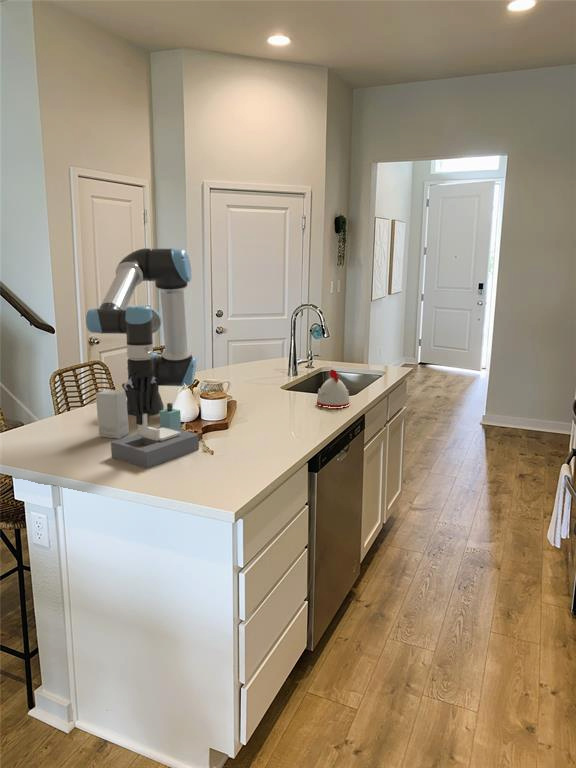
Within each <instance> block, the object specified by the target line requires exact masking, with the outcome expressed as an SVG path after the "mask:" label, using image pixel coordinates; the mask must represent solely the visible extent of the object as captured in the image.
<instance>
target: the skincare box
mask: <svg viewBox="0 0 576 768" xmlns="http://www.w3.org/2000/svg"><path fill="white" fill-rule="evenodd" d="M95 401H96V411H97V412H96V413H97V421H98V422H97V423H98V434H99V435H98V436H99V437H100V438H108V439H110V438H111V439H117V440H119V439H122V438H125V436H126V437H127V435H129V434H130V430H129V429H130V428H129V414H128V413H127V397H126V393H125V390H114V389H105V390H102V391H100V392H97V393H95Z"/></svg>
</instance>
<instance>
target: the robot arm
mask: <svg viewBox="0 0 576 768" xmlns="http://www.w3.org/2000/svg"><path fill="white" fill-rule="evenodd" d="M191 281H192V267H191V261H190V258H189V255H188V253H187V251H185V250H184V249H179V248H140V249H137V250H135V251H133V252H131V253H129V254H128V255H126V256H124V257H123V259H121V260H120V262H119V263H118V265H117V266H116V269H115V277H114V279H113V281H112V282H111V285H110V287H109V289H108V291H107V292H106V295H105V296H104V299H103V300H102V303H101V305H100V306H99V308H97V307H96V308H89V309H88V310H87V312H86V314H85V315H86V316H85V325H86V328H87V331H88V332H90V333H92V334H93V333H94V334H101V335H102V334H113V335H114V334H120V335H121V334H125V335H126V356H127V363H126V364H127V368H126V369H127V381H126V383H125V382H124V383H122V384H121V387H122V388H123V391H125V393H126V400H127V413H128V415H130V416H131V415H132V416H135V420H136V422H135V424H136V425H137V434H141V435H147V434H148V427H149V426H148V425H149V424H148V423H150V422H149V421H150V416H151V415H153V416H154V415H157V414H160V413H159V411H161V410H165V407H164V405H165V404H164V402H163V401H162V397H161V393H160V390H159V389H160V388H159V387H160V386H161V387H162V386H163V387H181V388H182V387H184V386H183V385H184V383H185V384H186V385H187V386H186V387H190V386H192V384H194V381H195V376H196V370H197V357H195V356H192V355H193V354H192V350H190V349H189V348H188V337H187V324H186V323H187V322H186V307H185V305H186V304H185V289H187V287H188V283H189V282H191ZM142 282H154V283H155V288H156V289H157V290H159V291H160V292H159V293H160V302H161V303H160V305H161V314H160V313H159V312H158V311H157V310H155V309H152V308H151V306H149V305H129V303H130V301H131V299H132V297H133V294H134V292H135V290H136V287H138V286H140V284H141V283H142ZM161 315H162V317H161ZM161 327H162V329H163V331H162V332H163V339H164V340H163V341H164V350H163V351H162V352H161V356H159V354H158V352H156V351H155V352H154V347H153V346H154V345H153V343H154V341H153V334H154V333H156V332H157V331H158V330H160V328H161Z"/></svg>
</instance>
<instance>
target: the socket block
mask: <svg viewBox="0 0 576 768" xmlns="http://www.w3.org/2000/svg"><path fill="white" fill-rule="evenodd" d="M155 428H156V429H159V428H166V429H170V430H174V431H178V432H181V435H178V436H175V437H172V438H169V439H166V440H163V441H160V440H158V441H156V440H152V439H148V438H145V437H144V436H143V435H141V434H138V433H136V434H135V433H134V434H132V435H129V436H126V437H122V438H119V439H117V440H112V441H111V442H110V449H111V450H110V451H111V458H113V459H116V460H119V461H122V462H125V463H129V464H131V465H135V466H138V467H142V468H145V469H150V468H153V467H155V466H158V465H161V464H163V463H166V462H169V461H172V460H174V459H176V458H179V457H181V456H184V455H188V454H190V453H193V452H197V451H198V450H199V449H200V437H199V436H200V435H199V434H198V433H194V432H190V431H186V430H183V429H181V430H178V429H174V428H170V427H166V426H162V427H160V426H159V427H155Z"/></svg>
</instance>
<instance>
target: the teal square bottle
mask: <svg viewBox="0 0 576 768" xmlns="http://www.w3.org/2000/svg"><path fill="white" fill-rule="evenodd" d="M158 414H159V427H162V426H166V427H170V428H174V429H178V430H182V428H181V424H182V423H181V410H179V409H177V408H173V403H172V402H167V403H166V409H165V408H164V410H161V411H159V413H158Z"/></svg>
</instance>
